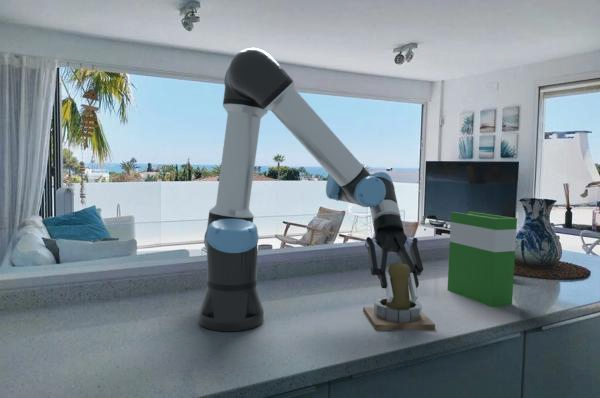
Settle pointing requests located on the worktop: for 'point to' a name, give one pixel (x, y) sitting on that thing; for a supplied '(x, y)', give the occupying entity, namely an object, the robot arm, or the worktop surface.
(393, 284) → the cork
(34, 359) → the worktop surface
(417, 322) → the walnut board
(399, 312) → the steel collar
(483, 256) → the cereal box
